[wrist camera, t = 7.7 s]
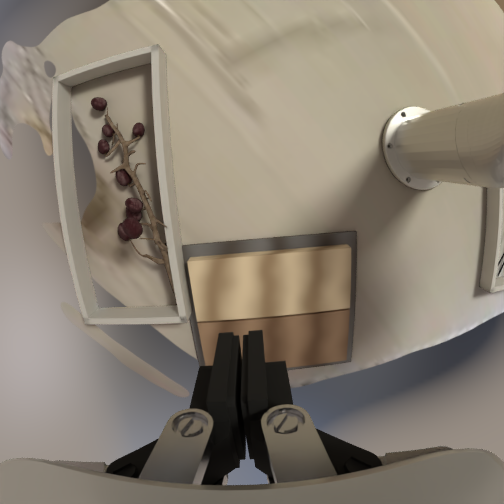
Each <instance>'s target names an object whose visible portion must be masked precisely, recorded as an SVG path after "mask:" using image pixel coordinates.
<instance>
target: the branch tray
mask: <svg viewBox="0 0 504 504" xmlns="http://www.w3.org/2000/svg"><path fill="white" fill-rule="evenodd" d="M150 63H151V65H152V97H153V117H154V132H155V145H156V157H157V168H158V178H159V187H160V196H161V205H162V213H163V220H164V225H166V226H167V227H168V228H166V227H165V226H164V228H165V235H166V242H167V247H168V255H169V262H170V268H171V274H172V280H173V285H174V291H175V296H176V302H177V305H169V306H146V307H114V308H99V306H98V302H97V299H96V295H95V291H94V287H93V282H92V278H91V274H90V269H89V265H88V260H87V255H86V250H85V245H84V239H83V234H82V228H81V222H80V215H79V209H78V202H77V193H76V184H75V174H74V163H73V150H72V128H71V87H72V86H75V85H77V84H80V83H83V82H86V81H89V80H92V79H95V78H98V77H101V76H105V75H108V74H111V73H115V72H118V71H122V70H126V69H129V68H133V67H137V66H141V65H146V64H150ZM52 135H53V156H54V169H55V180H56V189H57V197H58V206H59V212H60V219H61V225H62V231H63V237H64V242H65V247H66V252H67V257H68V262H69V266H70V270H71V275H72V279H73V283H74V287H75V291H76V295H77V299H78V302H79V305H80V309H81V313H82V316H83V319H84V323H85V324H169V323H188V320H189V318H190V315H191V313H192V309H191V303H190V297H189V291H188V285H187V279H186V272H185V266H184V259H183V252H182V240H181V233H180V225H179V217H178V209H177V200H176V191H175V182H174V172H173V161H172V150H171V138H170V124H169V109H168V91H167V66H166V53H165V52H164V51H163V49H162V48H161V47H160V45H159V44H157V45H152V46H148V47H144V48H140V49H136V50H132V51H129V52H125V53H121V54H118V55H115V56H111V57H108V58H105V59H102V60H99V61H96V62H93V63H90V64H87V65H84V66H81V67H79V68H76V69H73V70H71V71H68V72H66V73H63V74H61V75H58V76H56V77H54V78H53V93H52Z"/></svg>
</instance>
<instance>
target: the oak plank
mask: <svg viewBox="0 0 504 504" xmlns="http://www.w3.org/2000/svg"><path fill="white" fill-rule="evenodd" d="M187 263H188V270H189V276H190V282H191V289H192V295H193V301H194V307H195V312H196V318H197V322H199V321H218V320H233V319H247V318H260V317H272V316H283V315H293V314H303V313H313V312H322V311H330V310H338V309H346V308H350V293H351V247H350V246H349V245H347V244H343V245H331V246H319V247H308V248H296V249H284V250H272V251H260V252H248V253H236V254H224V255H212V256H200V257H190V258H189V260H188V261H187Z"/></svg>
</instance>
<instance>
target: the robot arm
mask: <svg viewBox="0 0 504 504" xmlns="http://www.w3.org/2000/svg"><path fill="white" fill-rule="evenodd" d="M401 115H402V116H401ZM382 141H383V152H384V157H385V159H386V162H387V165H388V167H389V168H390V170H391V172H392V173H393V174H394V176H395V177H396V178H397V179H398V180H399V181H400V182H401V183H403V184H404V185H406V186H408V187H410V188H413V189H418V190H428V189H432V188H434V187H436V186H438V185H439V184H440V183H442V182H450V183H458V184H466V185H473V186H480V187H487V188H504V93H502V94H498V95H495V96H491V97H487V98H484V99H479V100H475V101H471V102H467V103H463V104H459V105H454V106H450V107H446V108H443V109H439V110H435V111H429V110H427V109H425V108H422V107H417V106H410V107H406V108H403V109H401V110H399V111H397V112H396V113H394V114H393V115H392V116H391V118H390V119H389V120H388V122H387V124H386V126H385V129H384V132H383V140H382ZM387 145H388V146H389V148H388V146H387ZM406 178H407V180H406ZM246 439H247V445H248V451H249V457H250V459H254V461H255V467H256V468H257V469H259V470H261V471H262V472H263V473H265V474H267V480H268V484H260V485H227V481H228V473H229V472H231V471H232V470H234V469H235V468H239V467H240V460H242V459H245V454H246ZM0 504H504V461H503V460H501V459H500V458H499V457H498V456H497V455H495V454H494V453H492V452H490V451H487V450H483V449H472V448H471V449H470V448H467V449H452V448H449V447H445V446H438V447H432V448H426V449H419V450H411V451H402V452H391V453H386V454H385V456H378V457H377V456H376V455H375V454H373V453H371V452H369V451H367V450H364V449H362V448H359V447H357V446H354V445H352V444H350V443H347V442H345V441H343V440H340V439H338V438H336V437H334V436H331V435H329V434H327V433H325V432H322V431H320V430H318V429H316V428H315V426H314V424H313V422H312V420H311V417H310V415H309V414H308V413H307V411H306V410H304V409H303V408H301V407H299V406H296V405H293V401H292V395H291V389H290V384H289V378H288V372H287V366H286V361H275V362H265V354H264V342H263V330H254V331H248V335H243V350H242V354H241V346H240V339H239V335H235V336H234V333H233V332H224V333H219V334H218V340H217V345H216V350H215V356H214V361H213V365H211V366H200V368H199V371H198V375H197V380H196V383H195V388H194V392H193V396H192V400H191V405H190V409H185V410H182V411H179V412H177V413H175V414H174V415H173V416H171V417H170V419H169V420H168V422H167V424H166V426H165V428H164V429H163V431H162V433H161V435H160V437H159V439H157V440H155V441H153V442H151V443H149V444H147V445H145V446H143V447H142V448H140V449H138V450H136V451H134V452H132V453H130V454H128V455H125V456H123V457H121V458H119V459H117V460H116V461H114V462H112V463H111V464H110V465H106V464H105V462H75V461H60V460H59V461H49V460H44V459H33V458H16V459H10V460H6V461H4V462H2V463H0Z"/></svg>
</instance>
